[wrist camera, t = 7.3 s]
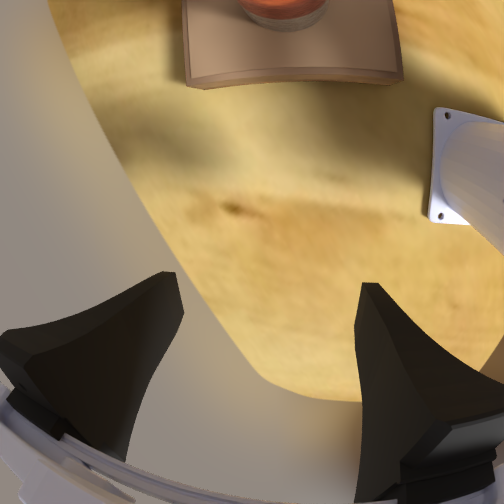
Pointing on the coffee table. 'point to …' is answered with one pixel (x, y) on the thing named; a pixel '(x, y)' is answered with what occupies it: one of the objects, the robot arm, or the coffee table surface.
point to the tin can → (285, 13)
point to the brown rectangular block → (290, 46)
